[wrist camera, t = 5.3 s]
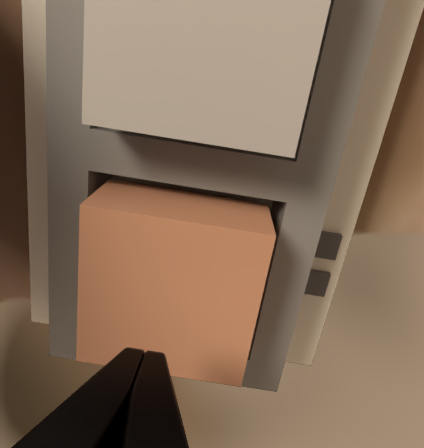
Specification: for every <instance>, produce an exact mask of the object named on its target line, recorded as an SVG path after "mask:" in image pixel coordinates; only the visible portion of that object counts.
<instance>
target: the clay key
mask: <svg viewBox="0 0 424 448" xmlns="http://www.w3.org/2000/svg"><path fill="white" fill-rule="evenodd" d="M275 239H276V233H275V230H274V226H273V222H272V218H271V214H270V210H269V206H268V204H262V203H256V202H249V201H243V200H237V199H231V198H225V197H218V196H212V195H206V194H200V193H194V192H187V191H181V190H175V189H169V188H163V187H156V186H150V185H144V184H138V183H131V182H125V181H119V180H113V179H109V180H108V181H107V182H106V183H105V184H103V185H102V186H101V187H100V188H99V189H97V190H96V191H95V192H94V193H93V194H92V195H90V196H89V197H88V198H87V199H86V200H85V201H83V202H82V203H81V204H80V215H79V258H78V302H77V345H76V361H80V362H87V363H93V364H99V365H106V364H107V363H108V362H109V361H111V360H112V359H113V358H114V357H115V356H116V355H117V354H119V353H120V352H121V351H122V350H123V349H124V348H126V347H131V348H137V349H143V350H144V351H145V352H146V351H148V350H150V351H157V352H163V353H164V354H165V356H166V359H167V363H168V367H169V371H170V375H171V376H175V377H181V378H187V379H193V380H200V381H206V382H212V383H219V384H225V385H232V386H238V387H241V385H242V381H243V376H244V372H245V368H246V363H247V359H248V355H249V351H250V346H251V342H252V338H253V333H254V329H255V325H256V321H257V316H258V312H259V308H260V303H261V299H262V295H263V291H264V286H265V282H266V278H267V273H268V269H269V265H270V261H271V256H272V252H273V248H274V243H275Z"/></svg>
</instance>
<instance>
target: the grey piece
mask: <svg viewBox="0 0 424 448" xmlns="http://www.w3.org/2000/svg"><path fill="white" fill-rule="evenodd" d="M423 8H424V0H331V3H330V7H329V12H328V16H327V20H326V25H325V29H324V33H323V37H322V42H321V46H320V50H319V55H318V59H317V63H316V67H315V72H314V76H313V80H312V85H311V89H310V93H309V98H308V102H307V106H306V110H305V115H304V119H303V123H302V128H301V132H300V136H299V140H298V145H297V149H296V153H295V158H290V157H284V156H278V155H272V154H265V153H259V152H253V151H247V150H241V149H234V148H228V147H222V146H216V145H210V144H204V143H197V142H191V141H185V140H179V139H173V138H166V137H160V136H154V135H148V134H142V133H135V132H129V131H123V130H117V129H111V128H105V127H98V126H92V125H86V124H82V85H83V41H84V0H22V28H23V61H24V94H25V126H26V159H27V192H28V225H29V258H30V291H31V321H33V322H39V323H46V324H49V355H50V356H54V357H60V358H66V359H72V360H76V345H77V302H78V258H79V215H80V204H81V203H82V202H83V201H85V200H86V199H87V198H88V197H89V196H90V195H92V194H93V193H94V192H95V191H96V190H97V189H99V188H100V187H101V186H102V185H103V184H105V183H106V182H107V181H108V180H109V179H113V180H119V181H125V182H131V183H138V184H144V185H150V186H156V187H163V188H169V189H175V190H181V191H187V192H194V193H200V194H206V195H212V196H218V197H225V198H231V199H237V200H243V201H249V202H256V203H262V204H268V206H269V210H270V214H271V218H272V222H273V226H274V230H275V233H276V239H275V243H274V248H273V252H272V256H271V261H270V265H269V269H268V273H267V278H266V282H265V286H264V291H263V295H262V299H261V303H260V308H259V312H258V316H257V321H256V325H255V329H254V333H253V338H252V342H251V346H250V351H249V355H248V359H247V363H246V368H245V372H244V376H243V381H242V385H241V386H243V387H249V388H256V389H261V390H268V391H274V392H276V391H277V389H278V385H279V381H280V378H281V374H282V371H283V367H284V363H285V362H291V363H297V364H303V365H310V366H311V365H312V362H313V358H314V355H315V352H316V349H317V346H318V342H319V339H320V336H321V333H322V330H323V327H324V323H325V320H326V317H327V314H328V311H329V308H330V304H331V301H332V298H333V295H334V292H335V288H336V285H337V282H338V279H339V276H340V272H341V269H342V266H343V263H344V260H345V256H346V253H347V250H348V247H349V244H350V241H351V237H352V234H353V231H354V228H355V225H356V221H357V218H358V215H359V212H360V209H361V206H362V202H363V199H364V196H365V193H366V190H367V186H368V183H369V180H370V177H371V174H372V170H373V167H374V164H375V161H376V158H377V155H378V151H379V148H380V145H381V142H382V139H383V135H384V132H385V129H386V126H387V123H388V120H389V116H390V113H391V110H392V107H393V104H394V100H395V97H396V94H397V91H398V88H399V84H400V81H401V78H402V75H403V72H404V69H405V65H406V62H407V59H408V56H409V53H410V49H411V46H412V43H413V40H414V37H415V33H416V30H417V27H418V24H419V21H420V18H421V14H422V11H423Z"/></svg>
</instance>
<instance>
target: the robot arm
mask: <svg viewBox="0 0 424 448" xmlns="http://www.w3.org/2000/svg"><path fill="white" fill-rule="evenodd" d="M12 448H189V446H188V442H187V438H186V434H185V430H184V427H183V423H182V418H181V414H180V411H179V407H178V403H177V399H176V395H175V391H174V387H173V383H172V379H171V375H170V371H169V367H168V363H167V359H166V356H165V354H164V353H163V352H157V351H150V350H148V351H146V352H145V351H144V350H143V349H137V348H131V347H126V348H124V349H123V350H122V351H121V352H120V353H119V354H117V355H116V356H115V357H114V358H113V359H112V360H111V361H109V362H108V363H107V364H106V365H105V366H104V367H103V368H102V369H100V370H99V371H98V372H97V373H96V374H95V375H94V376H92V377H91V378H90V379H89V380H88V381H87V382H86V383H84V385H82V386H81V387H80V388H79V389H78V390H77V391H75V392H74V393H73V394H72V395H71V396H70V397H68V399H66V400H65V401H64V402H63V403H62V404H61V405H59V406H58V407H57V408H56V409H55V410H54V411H53V412H51V413H50V414H49V415H48V416H47V417H46V418H45V419H43V420H42V421H41V422H40V423H39V424H38V425H37V426H35V427H34V428H33V429H32V430H31V431H30V432H29V433H28V434H26V435H25V436H24V437H23V438H22V439H21V440H20V441H18V442H17V443H16V444H15V445H14V446H13V447H12Z"/></svg>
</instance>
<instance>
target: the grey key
mask: <svg viewBox="0 0 424 448" xmlns="http://www.w3.org/2000/svg"><path fill="white" fill-rule="evenodd" d="M330 3H331V0H84V41H83V85H82V124H86V125H92V126H98V127H105V128H111V129H117V130H123V131H129V132H135V133H142V134H148V135H154V136H160V137H166V138H173V139H179V140H185V141H191V142H197V143H204V144H210V145H216V146H222V147H228V148H234V149H241V150H247V151H253V152H259V153H265V154H272V155H278V156H284V157H290V158H295V153H296V149H297V145H298V140H299V136H300V132H301V128H302V123H303V119H304V115H305V110H306V106H307V102H308V98H309V93H310V89H311V85H312V80H313V76H314V72H315V67H316V63H317V59H318V55H319V50H320V46H321V42H322V37H323V33H324V29H325V25H326V20H327V16H328V12H329V7H330Z"/></svg>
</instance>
